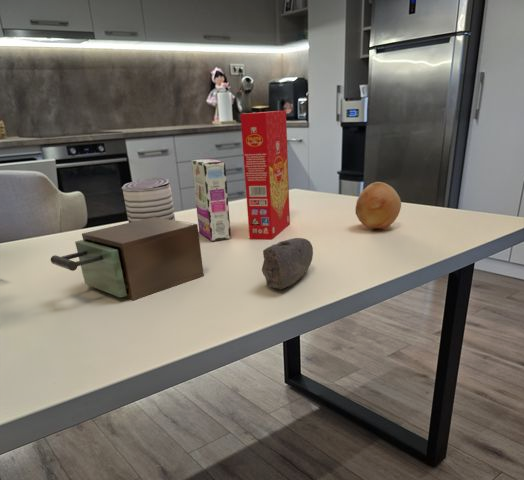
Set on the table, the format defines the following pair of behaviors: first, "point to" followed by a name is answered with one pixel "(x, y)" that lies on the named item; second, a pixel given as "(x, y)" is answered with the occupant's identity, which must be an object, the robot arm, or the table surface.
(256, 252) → the table surface
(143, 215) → the can
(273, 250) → the perforated stone tool
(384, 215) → the onion
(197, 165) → the candy bar box
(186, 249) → the cabinet
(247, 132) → the food packaging
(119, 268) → the drawer
